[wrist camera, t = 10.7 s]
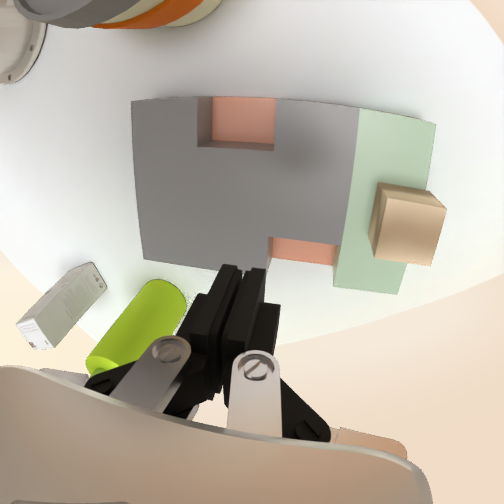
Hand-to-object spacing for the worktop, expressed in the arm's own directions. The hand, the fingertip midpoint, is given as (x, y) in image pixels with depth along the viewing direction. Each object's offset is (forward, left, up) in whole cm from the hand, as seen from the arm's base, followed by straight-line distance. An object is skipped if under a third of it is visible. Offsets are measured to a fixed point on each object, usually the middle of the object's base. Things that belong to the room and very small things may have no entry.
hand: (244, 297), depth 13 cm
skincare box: (+15, -25, -18) cm, 35 cm away
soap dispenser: (+16, -13, -18) cm, 28 cm away
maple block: (0, +9, -14) cm, 16 cm away
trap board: (0, -1, -18) cm, 18 cm away
